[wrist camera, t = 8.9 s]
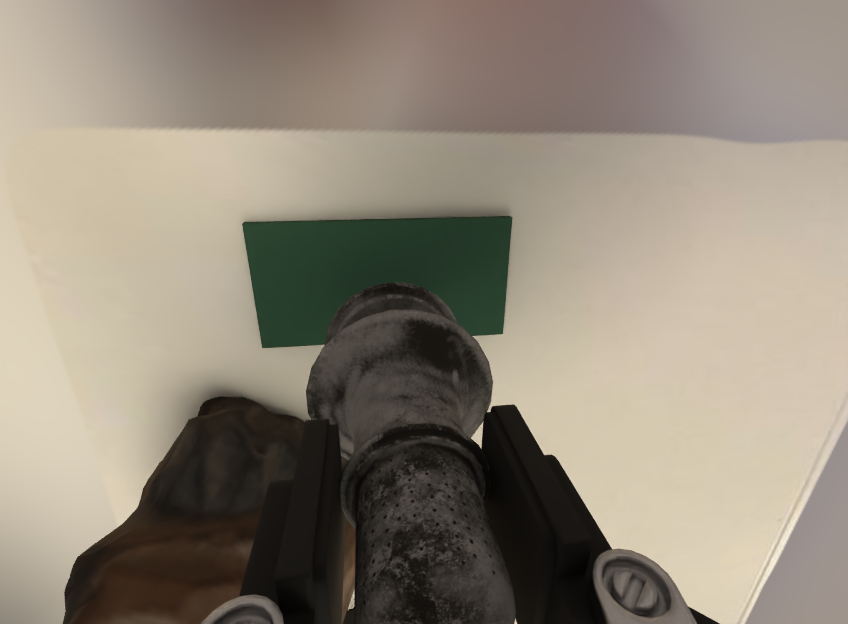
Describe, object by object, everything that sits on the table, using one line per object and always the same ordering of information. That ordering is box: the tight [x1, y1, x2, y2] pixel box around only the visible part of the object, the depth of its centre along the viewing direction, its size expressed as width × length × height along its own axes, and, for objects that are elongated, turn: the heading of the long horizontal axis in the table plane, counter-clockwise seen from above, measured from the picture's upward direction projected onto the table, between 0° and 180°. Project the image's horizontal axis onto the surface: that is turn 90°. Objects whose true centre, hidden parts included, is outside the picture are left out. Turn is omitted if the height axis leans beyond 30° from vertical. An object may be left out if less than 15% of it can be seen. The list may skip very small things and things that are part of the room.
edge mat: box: [242, 216, 512, 348], centre depth 24 cm, size 14×7×1 cm, turn 90°
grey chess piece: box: [306, 282, 516, 624], centre depth 11 cm, size 6×6×12 cm
